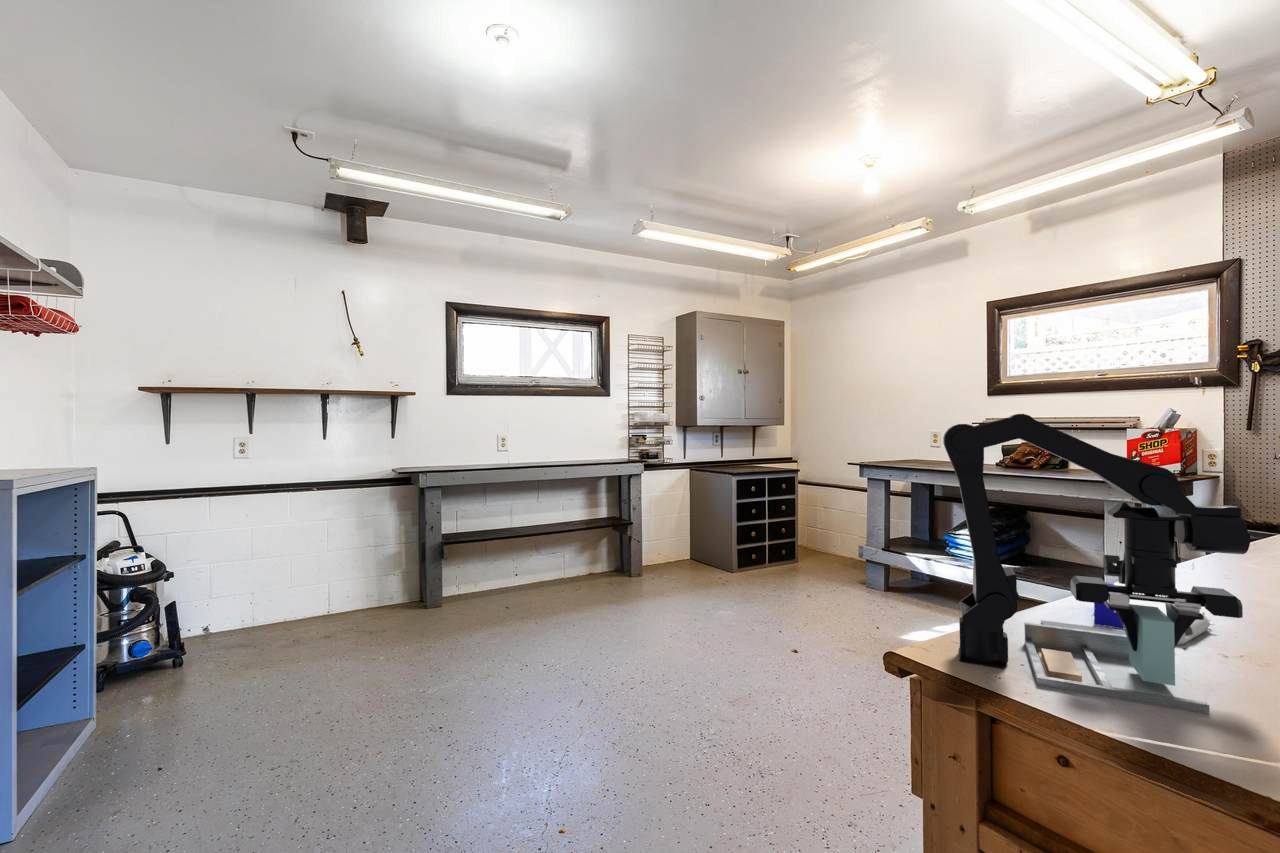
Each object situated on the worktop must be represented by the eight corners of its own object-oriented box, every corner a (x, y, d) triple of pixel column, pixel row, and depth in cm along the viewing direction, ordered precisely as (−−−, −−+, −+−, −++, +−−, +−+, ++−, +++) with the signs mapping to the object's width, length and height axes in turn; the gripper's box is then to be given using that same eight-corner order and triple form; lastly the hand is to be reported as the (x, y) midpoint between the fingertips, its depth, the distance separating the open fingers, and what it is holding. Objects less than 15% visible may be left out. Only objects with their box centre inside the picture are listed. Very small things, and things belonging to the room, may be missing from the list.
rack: (1037, 687, 87) (1037, 660, 87) (1024, 644, 103) (1024, 622, 103) (1209, 716, 78) (1208, 686, 78) (1164, 664, 94) (1164, 639, 94)
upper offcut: (1049, 678, 89) (1049, 670, 89) (1041, 655, 98) (1041, 648, 98) (1081, 684, 87) (1081, 676, 87) (1070, 659, 96) (1070, 652, 96)
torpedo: (1188, 651, 100) (1188, 613, 100) (1153, 643, 104) (1152, 606, 104) (1221, 630, 110) (1220, 595, 110) (1187, 623, 114) (1187, 590, 114)
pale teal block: (1143, 680, 85) (1142, 619, 85) (1129, 661, 92) (1128, 604, 92) (1175, 685, 83) (1174, 622, 83) (1158, 665, 90) (1157, 607, 90)
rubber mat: (1051, 646, 102) (1051, 644, 102) (1041, 622, 115) (1041, 620, 115) (1155, 661, 96) (1154, 658, 96) (1132, 634, 108) (1132, 631, 108)
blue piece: (1124, 629, 111) (1124, 598, 111) (1094, 624, 114) (1094, 594, 114) (1123, 613, 120) (1123, 584, 120) (1096, 609, 123) (1095, 580, 123)
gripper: (1212, 544, 90) (1213, 645, 90) (1064, 534, 99) (1065, 626, 99) (1243, 558, 80) (1245, 672, 80) (1076, 547, 89) (1077, 648, 89)
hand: (1150, 652), depth 87 cm, fingers closed on pale teal block, 3 cm apart
